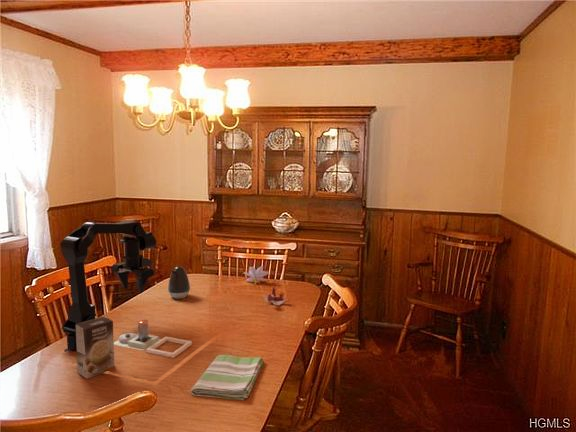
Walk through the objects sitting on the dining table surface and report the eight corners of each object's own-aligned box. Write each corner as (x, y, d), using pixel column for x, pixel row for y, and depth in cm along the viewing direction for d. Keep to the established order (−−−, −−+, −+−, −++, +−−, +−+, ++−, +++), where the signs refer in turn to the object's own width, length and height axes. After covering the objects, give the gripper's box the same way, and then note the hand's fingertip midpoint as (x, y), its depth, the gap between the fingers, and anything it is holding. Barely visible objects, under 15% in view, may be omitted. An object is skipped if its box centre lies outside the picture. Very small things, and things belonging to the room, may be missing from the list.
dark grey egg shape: (163, 299, 202) (162, 267, 200) (176, 292, 212) (175, 262, 209) (182, 301, 199) (181, 270, 196) (194, 294, 208) (193, 264, 206)
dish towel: (188, 396, 122) (188, 385, 122) (215, 359, 145) (215, 349, 144) (247, 403, 120) (247, 391, 119) (265, 363, 142) (265, 353, 141)
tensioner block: (143, 353, 147) (143, 345, 147) (111, 346, 152) (111, 338, 151) (161, 341, 156) (161, 333, 156) (130, 335, 161) (130, 328, 161)
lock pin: (144, 345, 151) (143, 324, 150) (136, 344, 152) (135, 322, 151) (150, 341, 154) (150, 320, 153) (142, 340, 155) (142, 319, 154)
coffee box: (87, 379, 130) (84, 329, 127) (77, 372, 134) (74, 323, 131) (115, 368, 137) (113, 320, 134) (105, 362, 141) (103, 315, 138)
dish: (173, 360, 142) (173, 354, 142) (146, 354, 146) (146, 349, 146) (191, 346, 152) (191, 341, 152) (166, 341, 156) (165, 336, 156)
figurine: (284, 310, 189) (285, 295, 188) (259, 308, 191) (259, 294, 190) (289, 299, 204) (290, 285, 203) (265, 297, 206) (265, 284, 205)
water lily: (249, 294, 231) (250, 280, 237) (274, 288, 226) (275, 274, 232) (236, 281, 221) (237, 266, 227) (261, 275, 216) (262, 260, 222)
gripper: (164, 252, 170) (165, 290, 172) (133, 246, 180) (134, 282, 182) (141, 257, 160) (143, 297, 163) (110, 250, 170) (111, 288, 172)
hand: (133, 290), depth 170 cm, fingers open, 9 cm apart
